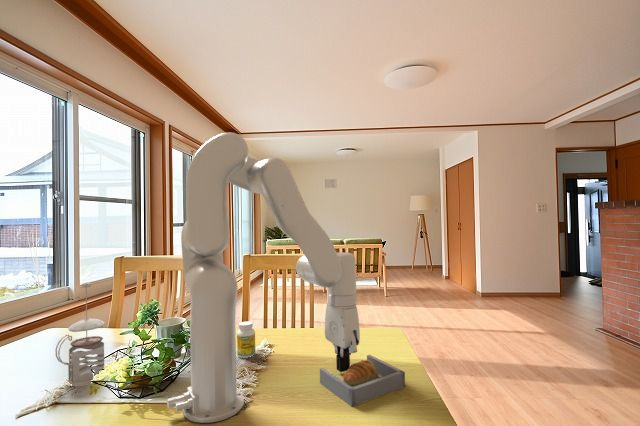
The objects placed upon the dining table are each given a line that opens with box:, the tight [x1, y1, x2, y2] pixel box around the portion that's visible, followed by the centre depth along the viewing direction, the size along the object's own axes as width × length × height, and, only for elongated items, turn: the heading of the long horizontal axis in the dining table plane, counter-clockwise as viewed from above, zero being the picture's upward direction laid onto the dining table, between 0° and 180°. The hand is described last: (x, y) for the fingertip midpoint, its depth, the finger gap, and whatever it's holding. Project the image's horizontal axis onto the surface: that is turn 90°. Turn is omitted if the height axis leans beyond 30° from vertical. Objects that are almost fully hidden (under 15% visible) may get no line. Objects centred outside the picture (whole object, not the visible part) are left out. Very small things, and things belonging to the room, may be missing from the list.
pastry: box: [342, 359, 379, 386], centre depth 89 cm, size 9×7×4 cm
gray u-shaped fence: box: [319, 354, 406, 407], centre depth 85 cm, size 16×13×4 cm
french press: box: [55, 282, 106, 388], centre depth 91 cm, size 10×12×25 cm
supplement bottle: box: [236, 321, 256, 359], centre depth 105 cm, size 5×5×10 cm
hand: (343, 369), depth 92 cm, fingers closed
